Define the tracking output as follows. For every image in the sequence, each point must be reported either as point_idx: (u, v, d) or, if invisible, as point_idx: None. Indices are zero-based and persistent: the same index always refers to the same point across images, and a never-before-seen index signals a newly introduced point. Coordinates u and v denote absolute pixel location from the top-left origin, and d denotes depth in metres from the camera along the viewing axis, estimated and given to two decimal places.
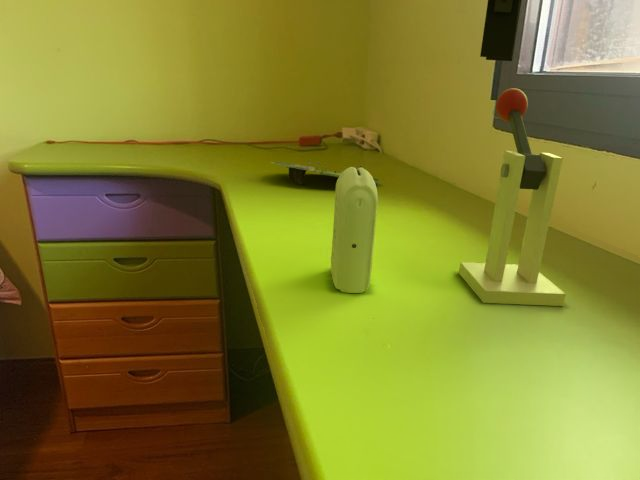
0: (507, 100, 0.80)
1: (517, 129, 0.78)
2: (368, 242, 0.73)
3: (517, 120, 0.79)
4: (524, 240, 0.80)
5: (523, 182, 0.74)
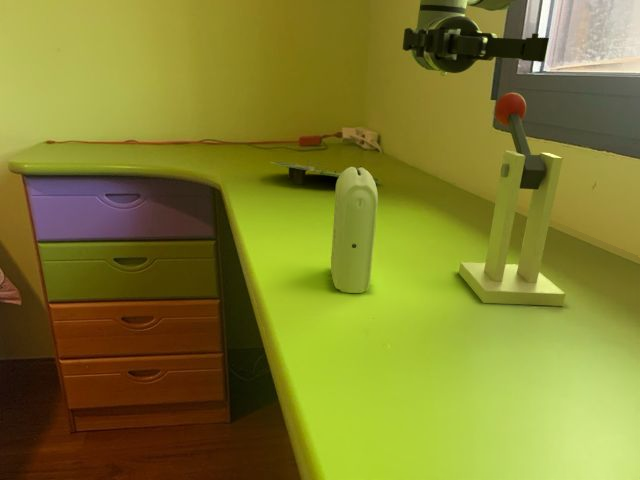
0: (506, 104, 0.80)
1: (516, 132, 0.78)
2: (368, 242, 0.73)
3: (516, 123, 0.79)
4: (524, 240, 0.80)
5: (524, 181, 0.74)
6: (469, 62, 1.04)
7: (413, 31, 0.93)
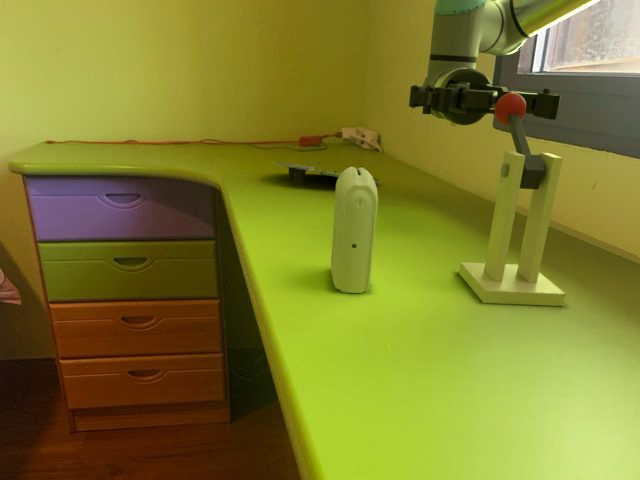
0: (506, 104, 0.80)
1: (516, 132, 0.78)
2: (368, 242, 0.73)
3: (516, 123, 0.79)
4: (524, 240, 0.80)
5: (524, 181, 0.74)
6: (479, 114, 1.01)
7: (419, 88, 0.91)
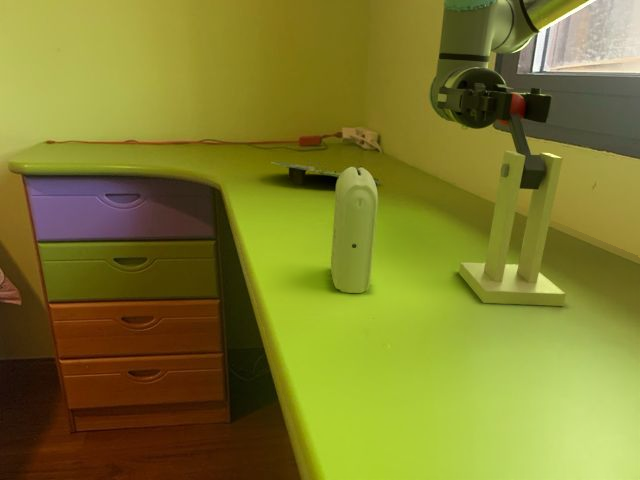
0: None
1: (516, 132, 0.78)
2: (368, 242, 0.73)
3: (516, 123, 0.79)
4: (524, 240, 0.80)
5: (524, 181, 0.74)
6: (493, 117, 0.95)
7: None
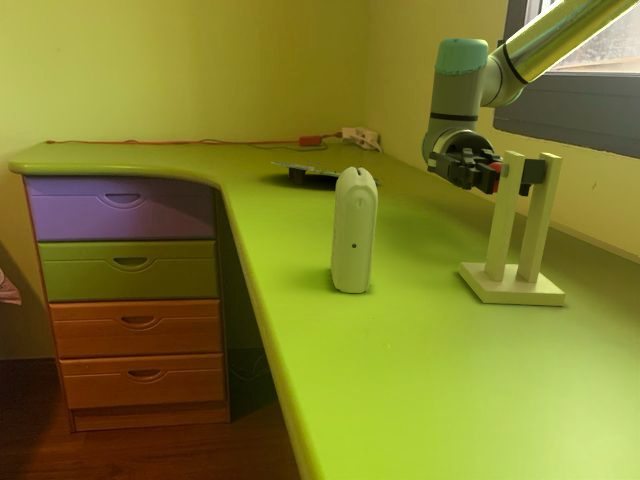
0: (491, 166, 0.85)
1: None
2: (368, 242, 0.73)
3: None
4: (524, 240, 0.80)
5: (526, 173, 0.73)
6: None
7: None
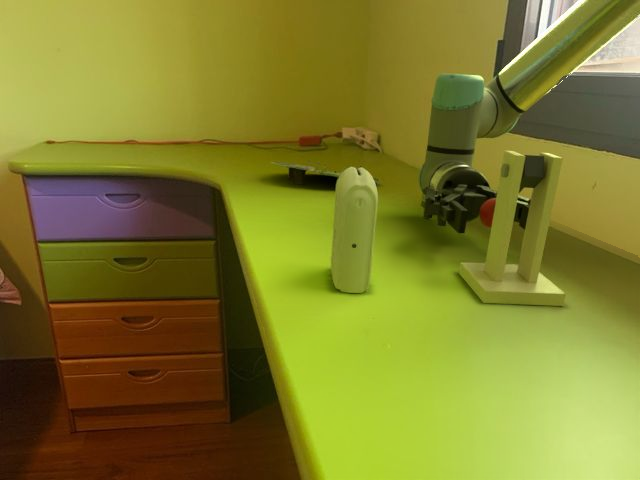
0: (488, 200, 0.86)
1: None
2: (368, 242, 0.73)
3: None
4: (524, 240, 0.80)
5: (527, 168, 0.73)
6: None
7: (434, 200, 0.90)
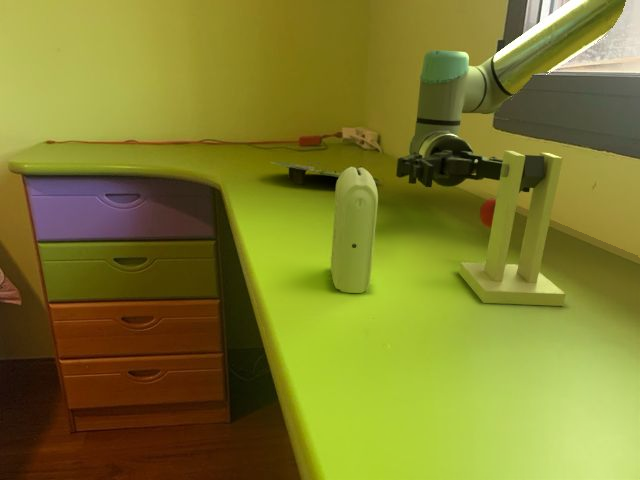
0: (488, 200, 0.86)
1: None
2: (368, 242, 0.73)
3: None
4: (524, 240, 0.80)
5: (527, 168, 0.73)
6: None
7: (406, 160, 0.99)
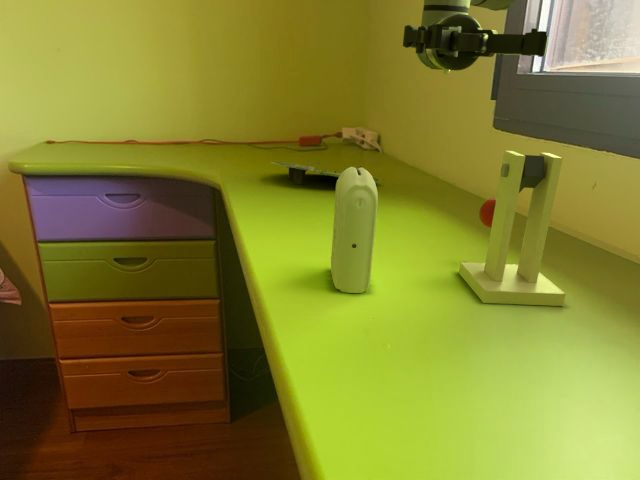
0: (488, 200, 0.86)
1: None
2: (368, 242, 0.73)
3: None
4: (524, 240, 0.80)
5: (527, 168, 0.73)
6: (471, 59, 1.05)
7: (413, 28, 0.95)
